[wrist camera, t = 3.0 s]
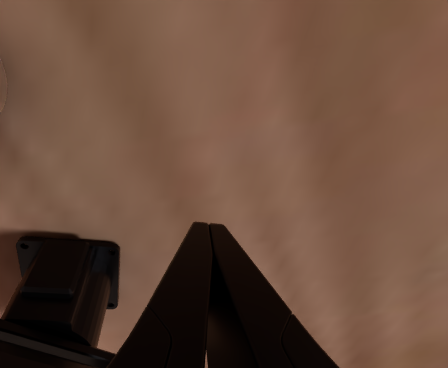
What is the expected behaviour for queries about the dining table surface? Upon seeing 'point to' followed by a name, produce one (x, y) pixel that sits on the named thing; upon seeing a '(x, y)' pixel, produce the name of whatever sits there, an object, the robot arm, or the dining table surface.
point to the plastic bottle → (3, 86)
